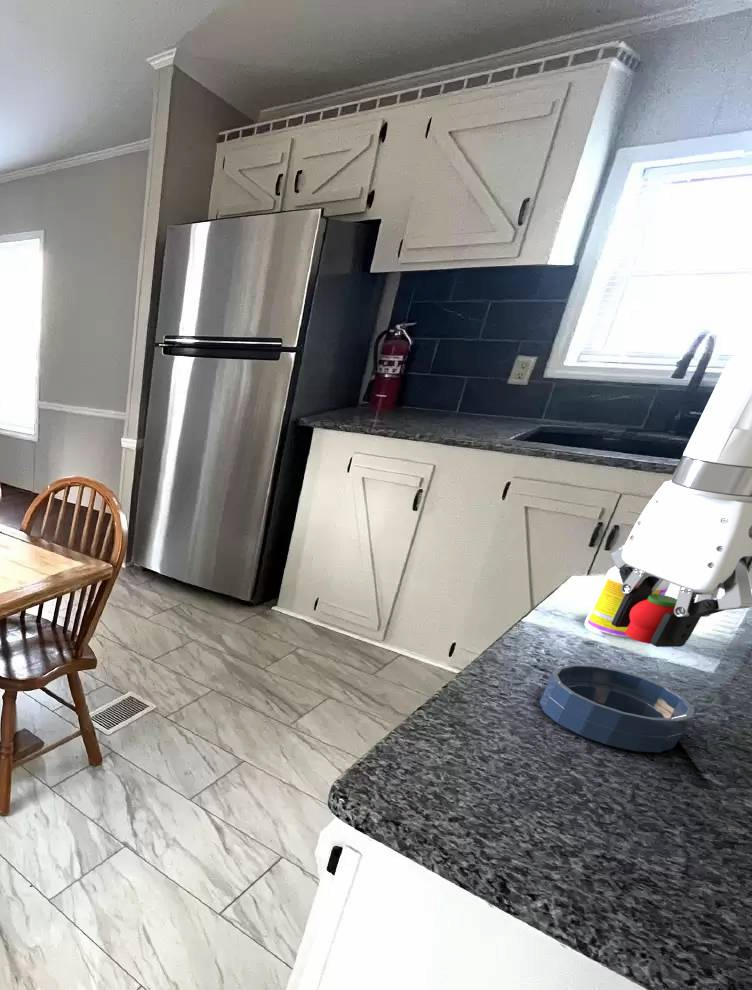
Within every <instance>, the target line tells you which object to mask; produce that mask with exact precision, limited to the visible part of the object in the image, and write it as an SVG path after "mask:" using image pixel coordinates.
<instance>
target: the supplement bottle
mask: <svg viewBox="0 0 752 990" xmlns="http://www.w3.org/2000/svg"><path fill="white" fill-rule="evenodd" d="M619 570H620V569H618V568H617V567H616V566H613V567H611V568H610V569H608V571H607V573H606V574H605V577H604V579H603V582H602V583H601V586H600V588H599V590H598V593H597V595H596V597H595V599H594V601H593V603H592V605H591V607H590V609H589V612H588V614H587V616H586V619H585V621H584V626H585V629H587V630H588V631H589V632H591V633H593V634H595V635H597V636H600V637H603V638H605V636H604V633H605V634H608V635H612V636H617V637H623V638H629V637H628V636H627V635H626V634H625V632H626V630H627V628H628V627H616V626H614V625H612V624H611V623H612V621H613V619H614V617H615V614H616V612H617V610H618V608H619V606H620V604H621V602H622V600H623V598H624V596H625V593H623V592H622V591H621V586H622V585H623V581H622V579H621V576H620V574H619ZM670 585H671V583H670V582H667V581H665V580H663V581H662V582H661V583H660V585H659V586H658V587H657V589H656V590H655V591H654V592H653V593H652V594H658V595H665V596H666V593H667V591H668V589H669V587H670Z"/></svg>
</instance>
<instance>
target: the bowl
mask: <svg viewBox="0 0 752 990" xmlns="http://www.w3.org/2000/svg"><path fill="white" fill-rule="evenodd" d="M539 705H540V706H541V709H542V711H543V713H544V714H545V715H547V716H548V717H549V718H550V719H551V720H553V721H554V722H555V723H556V724H558V725H559V726H562V727H563V728H566V729H568V730H569V731H571V732H573V733H575V734H577V735H580V736H582V737H584V738H586V739H589V740H591V741H594V742H597V743H601V744H604V745H607V746H610V747H615V748H619V749H624V750H628V751H632V752H645V753H662V752H665V751H669V750H670V751H671V750H674V748H675V747H676V745H677V743H678V742H679V740H680V739H681V736H682V735H683V733H684V731H685V730H686V728H687V726H688V725H689V723H690V721H691V720H692V718H693V715H694V713H695V708H694V707H693V705H692V704H691V703H690V701H689V700H688V699H687V698H686V697H684V696H682V695H681V694H679V693H677V692H676V691H675V690H673V689H671V688H670V687H668V686H665V685H663V684H661V683H658V682H656V681H653V680H651V679H650V678H647V677H644V676H640V675H638V674H633V673H630V672H627V671H624V670H620V669H615V668H610V667H605V666H601V665H600V666H599V665H594V664H576V663H575V664H574V663H572V664H566V665H560V666H557V667H556V668H555V669H554V671H553V672H552V673H551V676H550V678H549V680H548V682H547V684H546V686H545V688H544V691H543V693H542V695H541V698H540V700H539Z"/></svg>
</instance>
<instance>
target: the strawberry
mask: <svg viewBox="0 0 752 990" xmlns="http://www.w3.org/2000/svg"><path fill="white" fill-rule="evenodd" d="M676 601H677V598H675V597H672V596H669V595H666V594H665V595H658V594H651V595H649V597H648V599H647V600H643V601H641V602H639V603H637V604H636V605H635V606H634V607H633V608H632V609H631V611H630V615H629V617H630V621H631V622H630V624H629V626H628V628H627V630H626V632H625V634H626V635H627V636H628V637H627V638H630V639H632V640H634V641H637V642H641V643H644V644H650V645H652V644H651V639H652V637H653V636H654V634H655V632H656V630H657V628H658V626H659V624H660V622H661V620H662V618H663V616H664V615H665V614H666V613H674V608H675V605H676Z"/></svg>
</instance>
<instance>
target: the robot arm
mask: <svg viewBox="0 0 752 990" xmlns="http://www.w3.org/2000/svg"><path fill="white" fill-rule="evenodd" d="M610 560H611V561H612V563H613V564H614V566H615V567H617V568H618V569H620V570H619V574H620V576H621V579H622V581H623V585H622V586H621V591H622V592H623V593H625V596H624V598H623V600H622V602H621V604H620V606H619V608H618V610H617V612H616V614H615V617H614V619H613V621H612V623H611V624H612V625H614V626H616V627H628V626H629V624H630V622H631V621H630V617H629V615H630V611H631V609H632V608H633V607H634V606H635V605H636V604H637V603H639V602H641V601H643V600H647V599H648V597H649V595H651V594H652V593H653V592H654V591H655V590H656V589H657V587H658V586H659V585H660V583H661V582H662V581H663V580H665V581H667V582H670V584H673V585H675V586H677V587H679V590H678V595H677V598H676V599H677V601H676V605H675V608H674V613H666V614H665V615H664V616H663V618H662V620H661V622H660V624H659V626H658V628H657V630H656V632H655V634H654V636H653V637H652V639H651V644H650V645H652V646H654V647H656V648H674V647H675V648H679V647H680V648H681V647H683V646H684V645H685V644H686V643H687V642H688V641H689V639H690V638H691V636H692V634H693V632H694V631H695V629H696V627H697V625H698V623H699V621H700V620H701V618H707V617H710V616H711V615H713V614H718V613H720V612H724V611H729V610H731V611H732V610H742V609H743V610H744V609H750V608H752V348H750V349H746V350H743V351H741V352H738V353H736V354H735V355H734V356H732V357H731V358H730V359H729V360H728V362H727V363H726V365H725V367H724V368H723V370H722V372H721V374H720V376H719V378H718V380H717V382H716V385H715V386H714V389H713V391H712V393H711V395H710V397H709V399H708V401H707V403H706V405H705V407H704V410H703V412H702V414H701V416H700V418H699V420H698V422H697V424H696V426H695V427H694V430H693V433H692V434H691V436H690V439H689V441H688V443H687V445H686V447H685V449H684V451H683V454H682V455H681V457H680V459H679V461H678V463H677V465H676V467H675V469H674V471H673V473H672V476H671V479H670V480H667V481H664V482H663V483H662V484H661V486H660V487H659V488H658V489H657V491H656V492H655V494H654V495H653V496H652V498H651V499H650V500H649V501H648V502H647V504H646V505H645V508H644V509H643V511H642V512H641V514H640V516H639V517H638V519H637V521H636V522H635V524H634V526H633V528H632V530H631V531H630V533H629V535H628V537H627V539H626V541H625V544H624V545H622V546H621V547H620V548H618V549H617V550H615V551H614V552H612V553H611V555H610ZM720 589H722V590H724V594H723V596H722V597H718V594H719V592H720ZM697 595H698V597H697ZM696 598H697V600H696Z"/></svg>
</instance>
